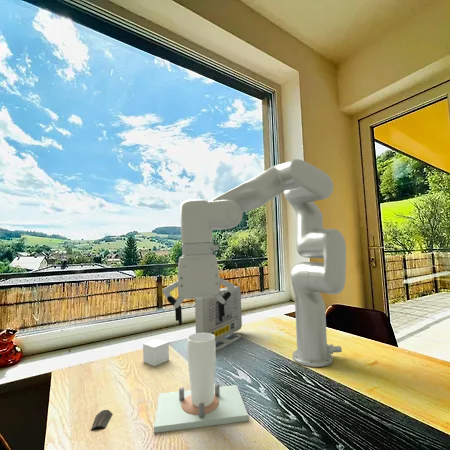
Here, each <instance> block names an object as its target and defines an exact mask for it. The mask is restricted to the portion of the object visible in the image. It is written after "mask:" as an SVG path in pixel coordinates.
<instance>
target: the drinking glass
mask: <svg viewBox="0 0 450 450" xmlns="http://www.w3.org/2000/svg"><path fill="white" fill-rule="evenodd" d="M186 343H187V344H186V345H187V346H186V348H187V349H186V351H187V352H186V353H187V363H188V364H187V365H188V374H189V385H190V390H191V402H192V404H193V405H194V406H196V407H199V404H200V403H204V407H207V406H209V405H211V404H212V403H213V401H214V387H215V376H216V375H215V373H216V372H215V371H216V358H217V357H216V355H217V354H216V353H217V352H216V351H217V350H216V347H217V346H216V342H215V336H214V335H213V334H210V333H196V332H195V333H193V334H189V336H188V337H187V342H186Z"/></svg>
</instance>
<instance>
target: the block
mask: <svg viewBox="0 0 450 450" xmlns="http://www.w3.org/2000/svg"><path fill="white" fill-rule="evenodd" d="M112 416H113V412H112V411H110V410H109V409H103V410H100V412H99V413H97V414H96V415H95V418H94V420H93V423H92V425H91V428H90V431H98V430H105V429H106V428H107V426H108V424H109V422H110V420H111V419H112Z"/></svg>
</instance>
